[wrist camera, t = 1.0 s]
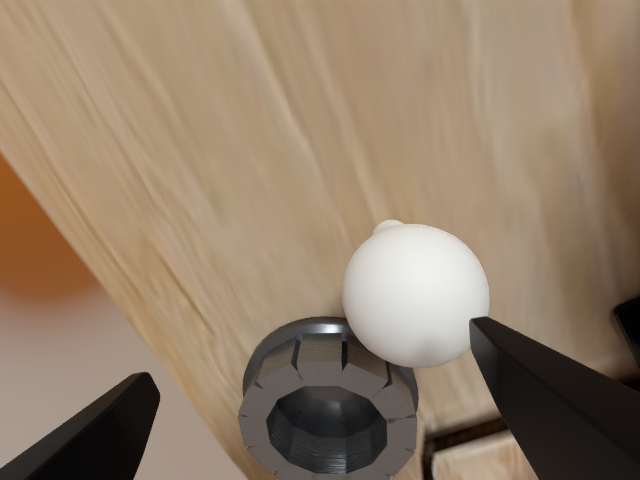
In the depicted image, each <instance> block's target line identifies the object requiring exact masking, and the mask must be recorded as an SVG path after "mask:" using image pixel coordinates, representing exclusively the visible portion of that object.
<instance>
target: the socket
mask: <svg viewBox="0 0 640 480" xmlns="http://www.w3.org/2000/svg"><path fill="white" fill-rule="evenodd" d="M243 397H244V399H243V402H242V404H241V407H240V410H239V412H238V413H239V415H238V420H239V424H240V428H241V433H242V437H243V442H244V446H248V448H247V451H248V452H249V453H250V454H251V455H252V456H253V457H254V458H255V459H256V460H257V461H258V462H259V463H260V464H261V465H262V466H263V467H264V468H265V469H266V470H267V471H268V472H269V473H270V474H271V473H273V472H276V473H275V477H277V478H280V479H282V480H390V478H389V475H391V476H393V477H394V476H395V475H396V474H397V473H398V471H399V470H400V469H401V468H402V467H403V466H404V464H405V463H406V462H407V461H408V460H409V459H410V457H411V456H412V455H413V454H414V449H416V432H417V417H416V411H417V408H418V400H419V397H418V387H417V383H416V379H415V375H414V371H413V369H412V367H404V366H400V365H396V364H393V363H391V362H388V361H386V360H384V359H382V358H380V357H379V356H377V355H376V354H374V353H373V352H371V351H370V350H368V349H367V348H366V347H365V346H364V345H363V344H362V343H361V342H360V341H359V339H358V338H357V336H356V335H355V333H354V332H353V330H352V329H351V327H350V326H349V323H348V320H347V319H346V318H339V317H323V316H322V317H310V318H305V319H300V320H297V321H294V322H291V323H288V324H286V325H284V326H282V327H280V328H278V329H276V330H275V331H273V332H272V333H270V334H269V335H268V336H267V337H266V338H264V339H263V340H262V341H261V343H260V344H259V345H258V346H257V347H256V349H255V351H254V352H253V354H252V356H251V358H250V361H249V363H248V365H247V368H246V371H245V374H244V378H243Z"/></svg>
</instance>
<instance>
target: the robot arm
mask: <svg viewBox="0 0 640 480" xmlns="http://www.w3.org/2000/svg"><path fill="white" fill-rule="evenodd" d="M625 311H626V312H625ZM623 312H625V313H623ZM614 315H615V317H616V319H617V321H618V323H619V326H620V328H621V330H622V332H623V334H624V336H625V338H626V340H627V342H628V344H629V347H630V349H631V351H632V353H633V355H634V357H635V359H636V361H637V363H638V365H639V367H640V297H638V298H635V299H633V300H631V301H628V302H626V303H624V304H621V305H619V306H618V307H616V308H615V310H614ZM469 334H470V346H471V350H472V353H473V355H474V357H475V360H476V362H477V364H478V366H479V369H480V371H481V373H482V375H483V377H484V380H485V382H486V384H487V386H488V388H489V391H490V393H491V395H492V397H493V399H494V402H495V404H496V406H497V408H498V410H499V412H500V413H501V415H502V417H503V419H504V421H505V422H506V424H507V426H508V427H509V429H510V431H511V432H512V434H513V436H514V438H515V439H516V441H517V443H518V444H519V446H520V448H521V450H522V451H523V453H524V455H525V456H526V458H527V460H528V461H529V463H530V465H531V467H532V468H533V470H534V472H535V473H536V475H537V477H538V479H539V480H640V393H639V392H637V391H635V390H633V389H631V388H629V387H627V386H625V385H623V384H621V383H619V382H617V381H615V380H613V379H611V378H609V377H607V376H605V375H603V374H601V373H599V372H597V371H595V370H593V369H591V368H589V367H587V366H585V365H583V364H581V363H579V362H577V361H575V360H573V359H571V358H569V357H567V356H565V355H563V354H561V353H559V352H557V351H555V350H553V349H551V348H549V347H547V346H545V345H543V344H541V343H539V342H537V341H535V340H533V339H531V338H529V337H527V336H525V335H523V334H521V333H519V332H517V331H515V330H513V329H511V328H509V327H507V326H505V325H503V324H501V323H499V322H497V321H495V320H493V319H491V318H489V317H487V316H482V317H476V318H471V319H470V320H469ZM159 402H160V392H159V390H158V389H157V386H156V385H155V383H154V381H153V379H152V377H151V375H150V374H149V373H148V372H140V373H135V374H132V375H130V376H129V377H127V378H126V379H125V380H123V381H122V382H120V383H119V384H118V385H116V386H115V387H113V388H112V389H111V390H109V391H108V392H106V393H105V394H104V395H102V396H101V397H99V398H98V399H97V400H95V401H94V402H92V403H91V404H90V405H88V406H87V407H85V408H84V409H83V410H82V411H80V412H78V413H77V414H76V415H74V416H73V417H72V418H70V419H69V420H67V421H66V422H65V423H63V424H62V425H60V426H59V427H58V428H56V429H55V430H53V431H52V432H51V433H49V434H48V435H46V436H45V437H44V438H42V439H41V440H40V441H38V442H37V443H35V444H34V445H33V446H31V447H30V448H28V449H27V450H25V451H24V452H23V453H21V454H20V455H19V456H17V457H16V458H14V459H13V460H12V461H10V462H9V463H7V464H6V465H5V466H3V467H2V468H0V480H133V479H134V477H135V474H136V472H137V469H138V467H139V464H140V461H141V459H142V456H143V453H144V450H145V447H146V444H147V441H148V437H149V434H150V431H151V428H152V425H153V421H154V418H155V415H156V412H157V409H158V406H159Z"/></svg>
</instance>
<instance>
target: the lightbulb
mask: <svg viewBox="0 0 640 480" xmlns="http://www.w3.org/2000/svg"><path fill="white" fill-rule="evenodd" d="M341 297H342V304H343V310H344V312H345V315H346V318H347V320H348V323H349V326H350V327H351V329H352V330H353V332H354V333H355V335H356V336H357V338H358V339H359V341H360V342H361V343H362V344H363V345H364V346H365V347H366V348H367V349H368V350H370V351H371V352H373V353H374V354H376V355H377V356H379V357H380V358H382V359H384V360H386V361H388V362H391V363H393V364H396V365H400V366H404V367H413V368H429V367H434V366H439V365H442V364H445V363H447V362H450V361H452V360H453V359H455V358H457V357H458V356H460V355H461V354H463V353H464V352H465V351H466V350H467V349H469V348H470V347H471V346H470V334H469V320H470V319H471V318H476V317H482V316H488V313H489V299H490V298H489V288H488V283H487V278H486V276H485V273H484V271H483V269H482V267H481V265H480V262H479V260H478V259H477V258H476V256H475V255H474V254H473V253H472V251H471V250H470V249H469V248H468V247H467V246H466V245H465V244H464V243H463V242H461V241H460V240H459V239H458V238H456V237H455V236H453V235H451V234H449V233H447V232H445V231H443V230H441V229H437V228H434V227H430V226H426V225H420V224H404V223H402V222H400V221H397V220H386V221H383V222H381V223H380V224H378V225H377V226H376V227H375V229H374V230H373V233H372V236H371V237H370V238H369V239H367V240H366V241H365V242H363V243H362V245H361V246H360V247H359V248H358V249H357V250H356V251H355V253H354V254H353V256H352V258H351V260H350V261H349V263H348V265H347V267H346V270H345V273H344V276H343V280H342V296H341Z"/></svg>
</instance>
